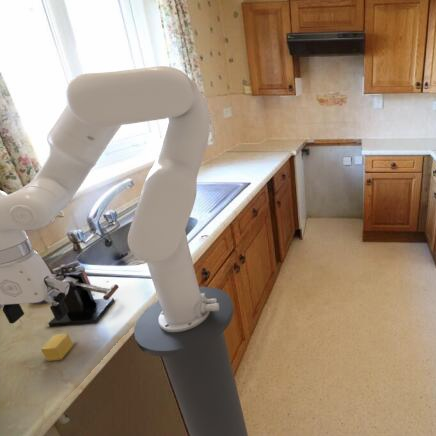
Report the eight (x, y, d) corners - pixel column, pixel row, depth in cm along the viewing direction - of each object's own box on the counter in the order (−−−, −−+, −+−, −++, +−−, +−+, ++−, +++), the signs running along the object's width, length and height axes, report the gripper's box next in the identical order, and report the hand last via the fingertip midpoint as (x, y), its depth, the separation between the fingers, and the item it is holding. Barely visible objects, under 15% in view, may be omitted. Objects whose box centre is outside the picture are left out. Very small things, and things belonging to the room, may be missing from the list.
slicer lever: (118, 290, 90) (119, 283, 89) (108, 302, 85) (109, 295, 84) (70, 280, 87) (70, 273, 86) (57, 292, 83) (57, 284, 82)
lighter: (60, 301, 94) (46, 273, 90) (60, 296, 97) (46, 268, 92) (93, 290, 99) (81, 262, 94) (92, 285, 101) (80, 257, 97)
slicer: (114, 301, 93) (101, 266, 88) (96, 323, 85) (80, 286, 80) (72, 304, 93) (55, 270, 88) (49, 326, 85) (30, 290, 80)
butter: (60, 346, 78) (54, 335, 77) (73, 344, 79) (68, 333, 77) (47, 360, 74) (40, 349, 73) (61, 359, 75) (55, 348, 73)
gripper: (-58, 263, 61) (-16, 332, 68) (38, 258, 62) (69, 327, 69) (-21, 244, 68) (13, 308, 75) (64, 240, 69) (90, 304, 76)
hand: (40, 317), depth 72 cm, fingers open, 9 cm apart
